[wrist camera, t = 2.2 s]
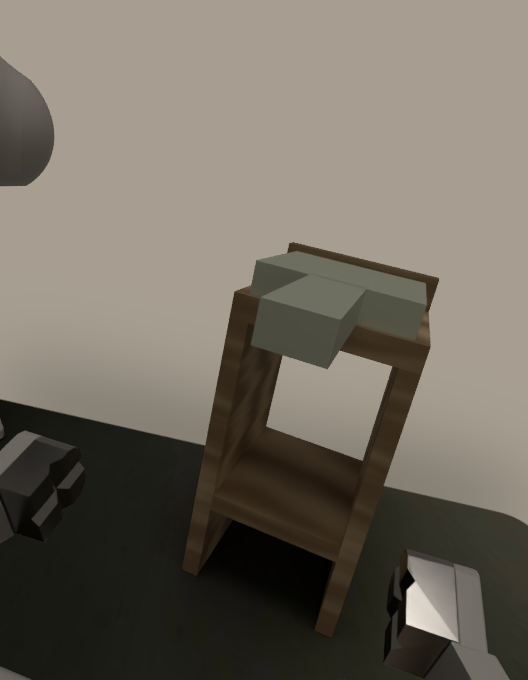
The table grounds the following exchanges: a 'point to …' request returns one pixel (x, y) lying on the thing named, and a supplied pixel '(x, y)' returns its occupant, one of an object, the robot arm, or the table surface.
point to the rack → (299, 449)
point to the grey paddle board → (328, 305)
